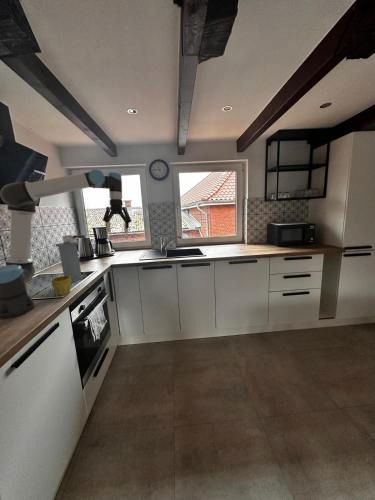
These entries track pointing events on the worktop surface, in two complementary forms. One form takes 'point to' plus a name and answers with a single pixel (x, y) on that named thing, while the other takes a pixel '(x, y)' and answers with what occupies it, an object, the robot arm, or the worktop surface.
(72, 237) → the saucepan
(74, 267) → the stand
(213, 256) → the worktop surface
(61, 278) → the plant pot
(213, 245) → the worktop surface
